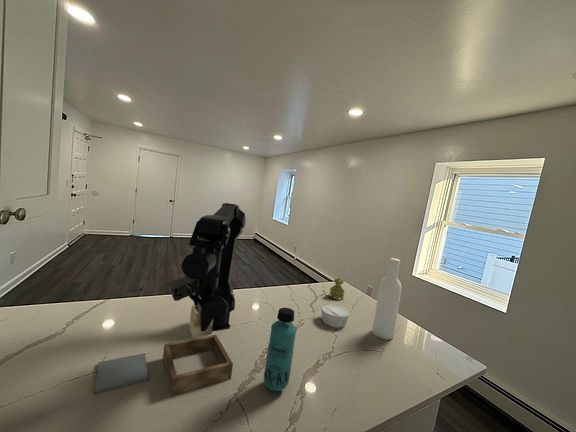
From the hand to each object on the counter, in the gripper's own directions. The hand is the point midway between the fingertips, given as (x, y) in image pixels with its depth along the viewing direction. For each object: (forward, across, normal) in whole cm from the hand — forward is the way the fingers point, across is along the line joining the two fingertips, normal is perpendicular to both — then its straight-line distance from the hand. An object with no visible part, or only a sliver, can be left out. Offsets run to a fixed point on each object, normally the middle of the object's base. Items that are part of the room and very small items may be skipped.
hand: (200, 326), depth 64 cm
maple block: (+1, 0, 0) cm, 1 cm away
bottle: (+12, +7, +69) cm, 70 cm away
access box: (+11, 0, 0) cm, 11 cm away
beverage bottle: (+12, +14, +16) cm, 24 cm away
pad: (+11, -5, -16) cm, 20 cm away
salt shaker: (+12, -27, +77) cm, 83 cm away
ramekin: (+12, -7, +56) cm, 58 cm away
